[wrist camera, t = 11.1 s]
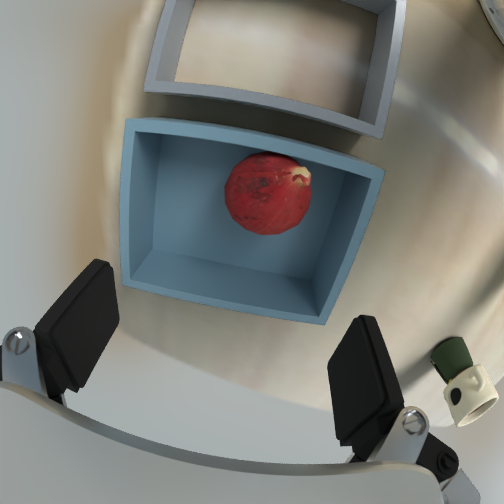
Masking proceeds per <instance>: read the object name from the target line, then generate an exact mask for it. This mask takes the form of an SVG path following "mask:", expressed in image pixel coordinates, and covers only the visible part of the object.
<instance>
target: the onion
mask: <svg viewBox="0 0 504 504" xmlns="http://www.w3.org/2000/svg"><path fill="white" fill-rule="evenodd" d="M310 182H311V173H310V172H309V171H308V170H307V169H306V167H302V166H301V165H300V164H299V163H298V161H297V160H295V159H294V158H292V157H290V156H288V155H286V154H281V153H277V152H272V151H264V152H260V153H255V154H250V155H249V156H247V157H246V158H244V159H243V160H242V161H240V162H239V163H238V164H237V165H236V166H234V168H233V169H232V171H231V173H230V175H229V177H228V179H227V182H226V184H225V186H224V194H225V205H226V207H227V209H228V211H229V213H230V215H231V217H232V219H233V220H234V221H236V222H237V223H238V224H239V225H241V226H242V227H243V228H244V229H245V230H248V231H251V232H253V233H256V234H259V235H277V234H281V233H283V232H285V231H287V230H289V229H291V228H293V227H295V226H297V225H298V224H299V223H300V222H301V220H302V219H303V217H304V216H305V214H306V212H307V211H308V209H309V205H310V200H311V194H312V193H311V185H310Z"/></svg>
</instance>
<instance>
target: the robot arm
mask: <svg viewBox="0 0 504 504" xmlns="http://www.w3.org/2000/svg"><path fill="white" fill-rule="evenodd" d="M479 1H480V4H481V6H482V9H483V11H484V13H485V15H486V17H487V19H488V21H489V23H490V25H491V26H492V28H493V30H494V31H495V33H496V35H497V36H498V38H499V39H500V40H501V42H502V43H503V45H504V0H479ZM118 324H119V311H118V304H117V297H116V290H115V281H114V272H113V268H112V267H111V266H110V264H109V262H107V261H103V260H100V259H94V260H93V261H92V262H91V263H90V264H89V265H88V266H87V267H86V268H85V269H84V270H83V271H82V272H81V273H80V275H79V276H78V277H77V278H76V279H75V280H74V281H73V282H72V283H71V284H70V286H69V287H68V288H67V289H66V290H65V291H64V292H63V293H62V295H61V296H60V297H59V298H58V299H57V300H56V302H55V303H54V304H53V305H52V306H51V307H50V309H49V310H48V311H47V312H46V314H45V315H44V316H43V318H41V320H40V321H39V322H38V323H37V325H36V326H35V329H34V330H33V332H32V330H30V329H29V328H27V327H16V328H13V329H12V330H10V331H9V332H8V333H7V334H6V335H5V337H4V339H3V343H2V345H1V346H0V504H480V494H479V492H478V490H477V489H476V488H475V486H474V485H473V484H472V482H471V481H470V480H469V478H468V477H467V476H466V474H465V473H464V472H463V470H462V469H459V470H458V466H459V460H458V457H457V454H456V453H455V452H454V450H452V449H451V448H450V447H448V446H447V445H446V444H444V443H443V442H441V441H440V440H439V439H437V438H436V437H435V436H433V435H432V434H430V433H429V432H428V431H429V420H428V418H427V416H426V414H425V413H424V412H423V411H422V410H421V409H419V408H417V407H413V406H409V407H404V399H403V396H402V392H401V389H400V386H399V383H398V380H397V377H396V374H395V371H394V368H393V365H392V362H391V359H390V356H389V353H388V350H387V348H386V345H385V342H384V339H383V337H382V334H381V331H380V329H379V326H378V324H377V321H376V319H375V317H373V316H367V315H359V316H358V318H354V319H353V321H352V323H351V325H350V326H349V328H348V330H347V332H346V333H345V335H344V337H343V338H342V340H341V342H340V343H339V345H338V347H337V348H336V350H335V352H334V353H333V355H332V357H331V358H330V360H329V362H328V366H327V370H328V376H329V384H330V391H331V398H332V406H333V414H334V422H335V431H336V438H337V439H338V440H340V446H352V450H353V452H352V454H351V455H350V456H349V458H348V459H347V460H346V462H345V463H342V464H279V463H264V462H254V461H245V460H237V459H229V458H224V457H218V456H211V455H206V454H201V453H197V452H192V451H187V450H183V449H179V448H175V447H171V446H168V445H164V444H160V443H157V442H154V441H150V440H147V439H144V438H141V437H138V436H135V435H132V434H129V433H126V432H123V431H120V430H118V429H115V428H113V427H110V426H107V425H105V424H103V423H100V422H98V421H96V420H93V419H91V418H89V417H87V416H84V415H82V414H80V413H77V412H75V411H73V410H71V409H69V408H67V404H66V401H65V397H64V392H65V390H66V388H68V389H70V390H72V391H74V392H76V393H77V392H78V390H79V388H83V387H84V386H85V384H86V382H87V380H88V378H89V376H90V374H91V372H92V371H93V369H94V367H95V365H96V363H97V361H98V359H99V357H100V356H101V354H102V352H103V350H104V349H105V347H106V345H107V343H108V342H109V340H110V338H111V336H112V335H113V333H114V331H115V329H116V328H117V326H118Z"/></svg>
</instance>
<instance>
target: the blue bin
mask: <svg viewBox="0 0 504 504" xmlns="http://www.w3.org/2000/svg"><path fill="white" fill-rule="evenodd" d="M264 151H272V152H277V153H281V154H286V155H288V156H290V157H292V158H294V159H295V160H297V161H298V163H299V164H300V165H301V166H302V167H306V169H307V170H308V171H309V172H310V173H311V182H310V185H311V193H312V194H311V200H310V205H309V209H308V211H307V212H306V214H305V216H304V217H303V219H302V220H301V222H300V223H299V224H298V225H297V226H295V227H293V228H291V229H289V230H287V231H285V232H283V233H281V234H277V235H259V234H256V233H253V232H251V231H248V230H245V229H244V228H243V227H242V226H241V225H239V224H238V223H237V222H236V221H234V220H233V219H232V217H231V215H230V213H229V211H228V209H227V207H226V205H225V194H224V186H225V184H226V182H227V179H228V177H229V175H230V173H231V171H232V169H233V168H234V166H236V165H237V164H238V163H239V162H240V161H242V160H243V159H244V158H246V157H247V156H249V155H250V154H255V153H260V152H264ZM384 174H385V171H384V170H382V169H380V168H378V167H376V166H374V165H372V164H370V163H368V162H366V161H364V160H362V159H360V158H358V157H355V156H352V155H349V154H345V153H342V152H339V151H336V150H332V149H329V148H325V147H322V146H318V145H315V144H311V143H307V142H303V141H300V140H296V139H292V138H287V137H283V136H279V135H274V134H270V133H265V132H260V131H255V130H250V129H245V128H239V127H234V126H228V125H222V124H215V123H208V122H201V121H193V120H185V119H175V118H165V117H146V118H129V119H126V122H125V130H124V139H123V150H122V162H121V177H120V206H119V231H120V261H121V277H122V285H124V286H127V287H131V288H135V289H139V290H143V291H147V292H151V293H155V294H159V295H164V296H168V297H172V298H176V299H181V300H185V301H190V302H194V303H199V304H204V305H209V306H213V307H218V308H223V309H228V310H234V311H239V312H244V313H250V314H255V315H261V316H267V317H273V318H279V319H285V320H291V321H298V322H305V323H312V324H319V325H325V324H326V322H327V320H328V317H329V315H330V313H331V311H332V309H333V307H334V305H335V303H336V300H337V298H338V296H339V294H340V291H341V289H342V287H343V285H344V282H345V280H346V278H347V275H348V273H349V271H350V268H351V266H352V264H353V261H354V259H355V256H356V254H357V251H358V249H359V246H360V244H361V241H362V238H363V236H364V233H365V230H366V228H367V225H368V222H369V219H370V217H371V214H372V211H373V208H374V205H375V202H376V199H377V196H378V193H379V190H380V187H381V184H382V181H383V178H384Z"/></svg>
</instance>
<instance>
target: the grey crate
mask: <svg viewBox="0 0 504 504" xmlns="http://www.w3.org/2000/svg"><path fill="white" fill-rule="evenodd" d="M341 1H344V2H346V3H349V4H352V5H355V6H358V7H360V8H363V9H365V10H368V11H370V12H373V13H375V14H378V21H377V27H376V33H375V39H374V45H373V51H372V56H371V61H370V66H369V71H368V76H367V81H366V86H365V90H364V95H363V99H362V103H361V108H360V112H359V116H358V119H355V118H352V117H349V116H346V115H343V114H340V113H337V112H334V111H331V110H328V109H324V108H321V107H317V106H314V105H310V104H307V103H303V102H299V101H295V100H291V99H287V98H282V97H278V96H273V95H269V94H264V93H258V92H253V91H247V90H242V89H235V88H229V87H221V86H214V85H205V84H195V83H183V82H174V79H175V74H176V70H177V65H178V61H179V57H180V53H181V48H182V44H183V41H184V37H185V33H186V29H187V26H188V22H189V19H190V16H191V12H192V9H193V6H194V3H195V0H166V3H165V6H164V9H163V12H162V15H161V18H160V22H159V25H158V29H157V32H156V36H155V40H154V43H153V47H152V51H151V56H150V60H149V64H148V69H147V74H146V79H145V84H144V89H143V91H144V92H150V93H156V94H161V95H175V96H187V97H197V98H205V99H213V100H221V101H227V102H234V103H240V104H246V105H251V106H256V107H262V108H266V109H271V110H276V111H280V112H285V113H289V114H293V115H297V116H301V117H305V118H308V119H312V120H316V121H319V122H323V123H326V124H329V125H333V126H336V127H339V128H342V129H345V130H348V131H351V132H354V133H357V134H360V135H363V136H368V137H372V138H376V139H381V140H382V136H383V132H384V128H385V124H386V120H387V116H388V112H389V108H390V103H391V99H392V94H393V89H394V84H395V79H396V74H397V68H398V63H399V57H400V50H401V44H402V36H403V29H404V20H405V10H406V0H341Z"/></svg>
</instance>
